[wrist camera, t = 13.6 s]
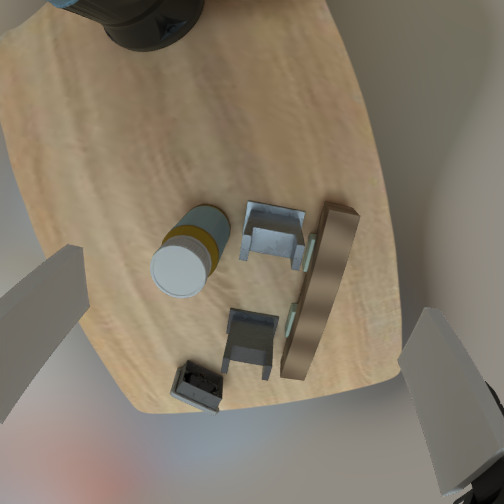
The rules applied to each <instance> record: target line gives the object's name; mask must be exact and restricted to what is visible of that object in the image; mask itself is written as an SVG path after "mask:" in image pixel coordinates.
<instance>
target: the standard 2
mask: <svg viewBox="0 0 504 504" xmlns="http://www.w3.org/2000/svg"><path fill="white" fill-rule="evenodd" d="M304 215H305V211H300V210H295V209H290V208H285V207H280V206H275V205H270V204H264V203H259V202H254V201H248V205H247V211H246V217H245V223H244V228H243V234H242V235H243V239H242V245H241V251H240V257H239V260H244V261H247V259H248V254H249V251H254V252H259V253H265V254H270V255H275V256H281V257H286V258H290V260H291V269H292V270H298V271H299V269H300V265H301V261H302V257H303V253H304V249H305V243H304V238H303V233H302V229H301V228H302V223H303V219H304Z"/></svg>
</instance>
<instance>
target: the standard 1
mask: <svg viewBox="0 0 504 504" xmlns="http://www.w3.org/2000/svg"><path fill="white" fill-rule="evenodd" d="M278 320H279V317H278V316H272V315H267V314H261V313H256V312H250V311H245V310H239V309H234V308H230V314H229V320H228V326H227V334H229V335H228V339H227V343H226V348H225V352H224V356H223V362H222V368H221V373H227V371H228V367H229V362H230V360H233V361H239V362H244V363H250V364H256V365H262V366H263V369H262V380H267V381H268V379H269V375H270V372H271V369H272V359H273V338H274V335H275V331H276V327H277V324H278Z"/></svg>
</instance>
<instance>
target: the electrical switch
mask: <svg viewBox="0 0 504 504" xmlns="http://www.w3.org/2000/svg"><path fill="white" fill-rule="evenodd" d="M193 365H195V366H193ZM188 367H189V368H188ZM197 367H198V368H199V369H198V368H197ZM185 369H186V370H185ZM198 371H199V372H198ZM197 372H198V373H197ZM196 373H197V374H196ZM200 373H203V374H204V376H203V378H202V377H200V376H199V375H200ZM206 375H207V376H206ZM205 377H206V379H205ZM220 380H221V381H220ZM214 383H215V384H214ZM222 391H223V378H222V376H220V375H217V374H215V373H213V372H211V371H209V370H207V369H205V368H203V367H201V366H199V365H197V364H195V363H192V362H190V361H187V363H186V364H185V365H184V367H183V368H178V369H177V371H176V375H175V378H174V381H173V385H172V388H171V392H170V394H171V396H172V397H174V398H176V399H178V400H180V401H183V402H185V403H187V404H189V405H191V406H193V407H196V408H198V409H200V410H203V411H205V412H207V413H210V414H212V415H217V414H218V412H219V408H218V405H219V403H220V401H221V400H222Z"/></svg>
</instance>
